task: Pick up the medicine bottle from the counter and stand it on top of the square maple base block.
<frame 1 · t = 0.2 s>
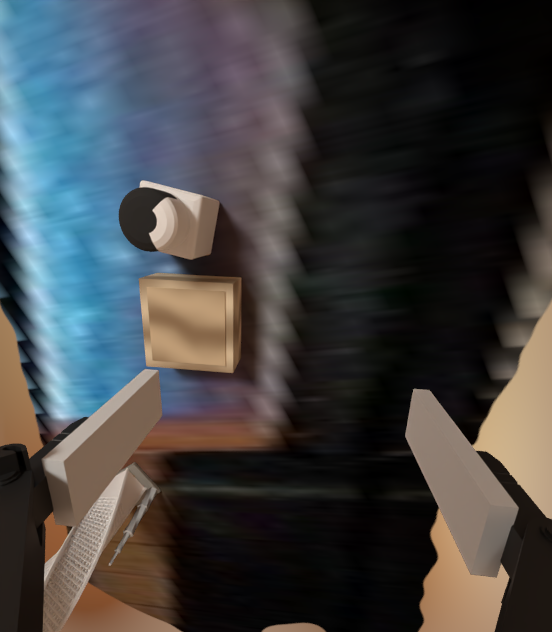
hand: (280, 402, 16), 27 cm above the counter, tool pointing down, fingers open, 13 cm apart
skyscraper: (129, 483, 54), on the counter
base block: (200, 316, 44), on the counter
medicine bottle: (190, 222, 41), on the counter
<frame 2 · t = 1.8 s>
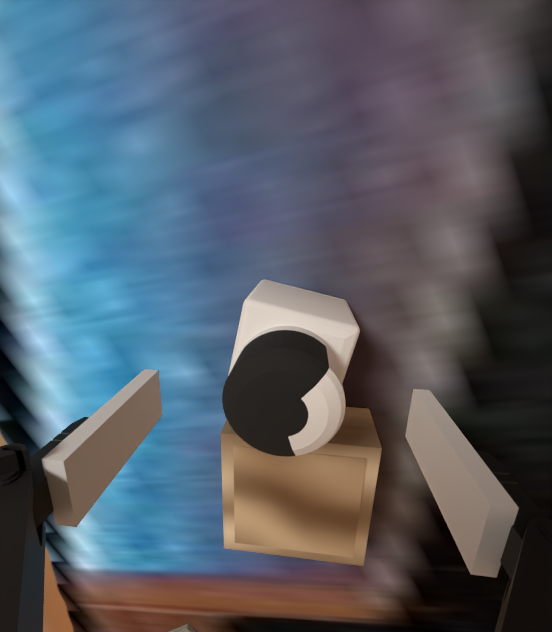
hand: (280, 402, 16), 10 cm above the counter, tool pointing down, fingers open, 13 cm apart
base block: (297, 457, 29), on the counter
medicine bottle: (293, 328, 26), on the counter
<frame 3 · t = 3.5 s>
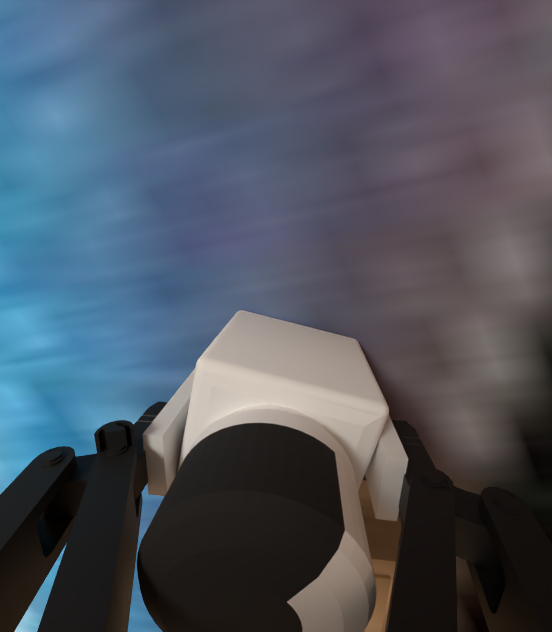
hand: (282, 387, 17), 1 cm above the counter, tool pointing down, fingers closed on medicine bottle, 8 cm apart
base block: (291, 541, 22), on the counter
medicine bottle: (283, 375, 19), on the counter, touching gripper
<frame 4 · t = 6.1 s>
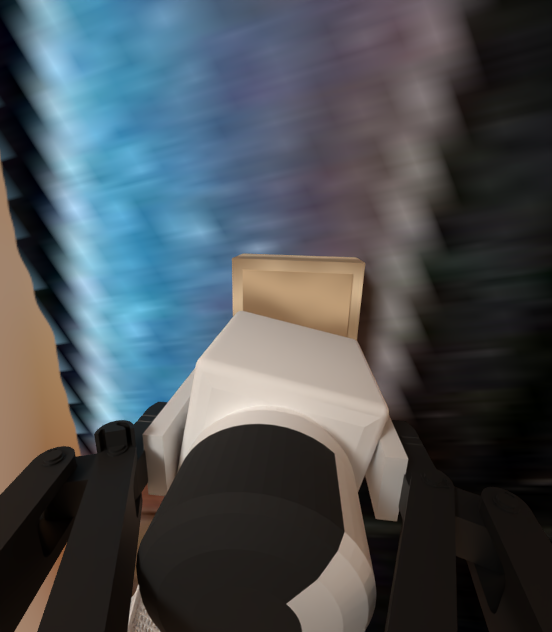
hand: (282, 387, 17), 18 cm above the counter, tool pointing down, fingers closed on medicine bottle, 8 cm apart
skyscraper: (190, 515, 45), on the counter
base block: (296, 310, 34), on the counter
medicine bottle: (283, 376, 19), point 16 cm above the counter, touching gripper
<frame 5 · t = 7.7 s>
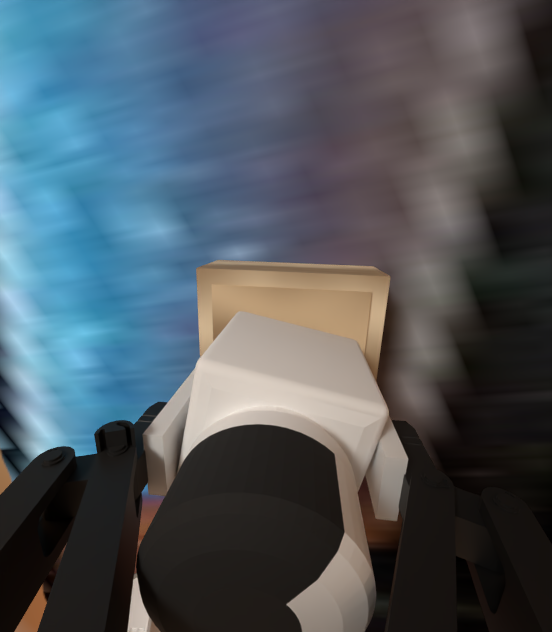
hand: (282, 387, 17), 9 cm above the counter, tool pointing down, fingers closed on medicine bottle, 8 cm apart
skyscraper: (159, 585, 36), on the counter
base block: (290, 336, 25), on the counter
medicine bottle: (283, 376, 19), point 7 cm above the counter, touching gripper
when the fingers open (8 cm above the counter, at t = 8.7 s): medicine bottle drops 1 cm, resting on base block.
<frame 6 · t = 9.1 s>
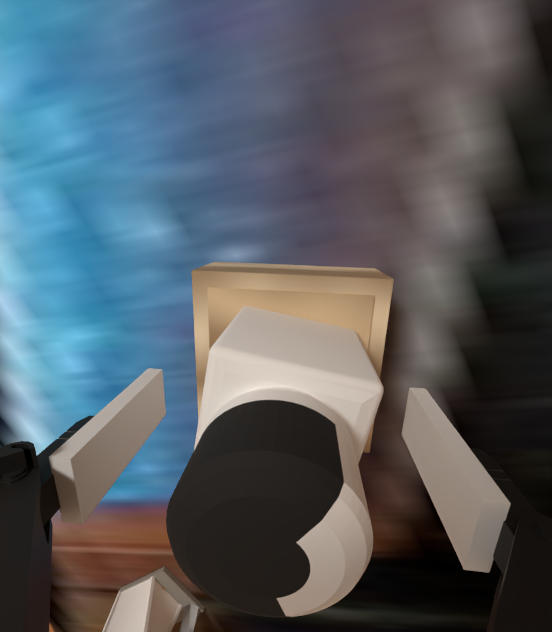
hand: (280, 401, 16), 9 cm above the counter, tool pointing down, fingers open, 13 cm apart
skyscraper: (155, 594, 35), on the counter
base block: (289, 340, 25), on the counter
medicine bottle: (287, 366, 20), point 5 cm above the counter, touching base block
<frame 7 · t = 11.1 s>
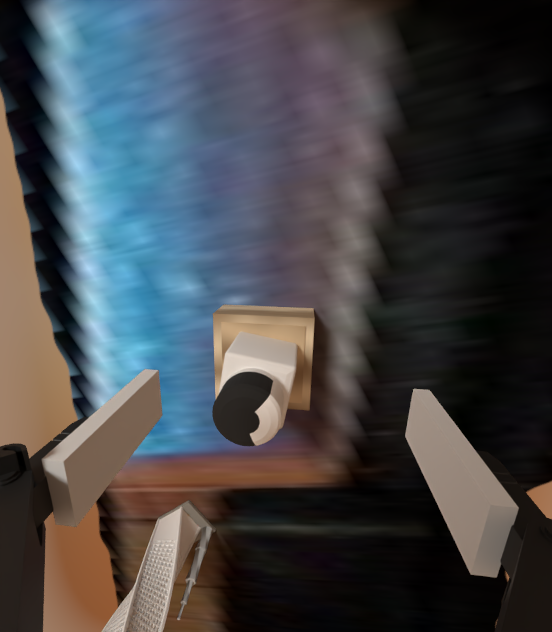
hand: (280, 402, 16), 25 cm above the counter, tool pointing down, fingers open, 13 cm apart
skyscraper: (182, 521, 52), on the counter
base block: (267, 348, 42), on the counter
medicine bottle: (263, 363, 37), point 5 cm above the counter, touching base block
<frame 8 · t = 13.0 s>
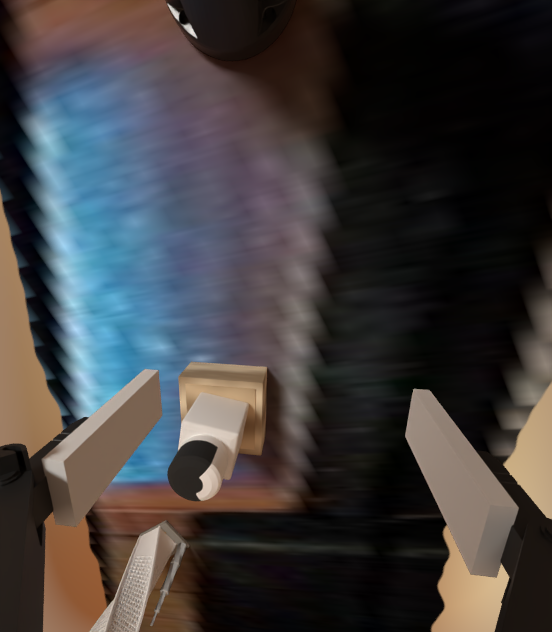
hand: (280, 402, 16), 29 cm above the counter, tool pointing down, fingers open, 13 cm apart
skyscraper: (160, 537, 59), on the counter
base block: (229, 398, 49), on the counter
medicine bottle: (221, 416, 44), point 5 cm above the counter, touching base block
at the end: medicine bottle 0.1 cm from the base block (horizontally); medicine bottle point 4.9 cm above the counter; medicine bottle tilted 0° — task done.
